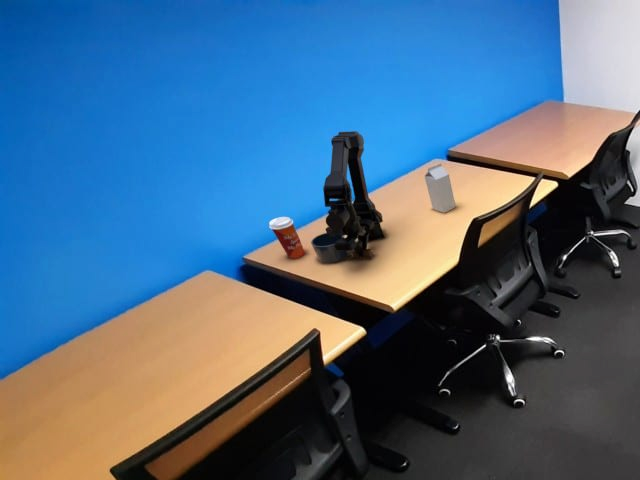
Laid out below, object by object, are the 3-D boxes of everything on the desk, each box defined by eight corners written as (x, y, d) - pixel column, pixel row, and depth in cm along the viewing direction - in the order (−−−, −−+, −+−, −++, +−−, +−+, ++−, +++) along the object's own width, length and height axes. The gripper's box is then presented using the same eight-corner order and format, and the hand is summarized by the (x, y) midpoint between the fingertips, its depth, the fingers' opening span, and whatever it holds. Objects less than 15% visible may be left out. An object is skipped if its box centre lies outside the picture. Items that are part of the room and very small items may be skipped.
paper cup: (298, 260, 173) (281, 226, 164) (280, 258, 174) (262, 224, 165) (312, 250, 179) (296, 216, 169) (295, 248, 180) (278, 214, 170)
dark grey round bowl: (348, 245, 181) (341, 229, 177) (352, 258, 174) (345, 242, 169) (317, 252, 177) (309, 236, 173) (320, 266, 170) (312, 249, 165)
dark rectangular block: (374, 255, 175) (371, 248, 173) (371, 259, 174) (368, 252, 172) (356, 255, 176) (353, 248, 174) (353, 258, 174) (350, 251, 172)
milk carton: (456, 207, 206) (446, 164, 193) (444, 213, 201) (433, 170, 189) (444, 203, 209) (434, 161, 196) (432, 209, 204) (421, 166, 192)
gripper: (339, 203, 171) (354, 241, 182) (311, 228, 157) (329, 267, 168) (368, 205, 171) (381, 242, 181) (343, 229, 157) (359, 268, 167)
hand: (362, 254), depth 174 cm, fingers closed on dark rectangular block, 2 cm apart
